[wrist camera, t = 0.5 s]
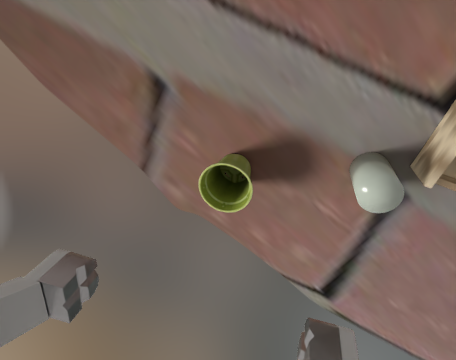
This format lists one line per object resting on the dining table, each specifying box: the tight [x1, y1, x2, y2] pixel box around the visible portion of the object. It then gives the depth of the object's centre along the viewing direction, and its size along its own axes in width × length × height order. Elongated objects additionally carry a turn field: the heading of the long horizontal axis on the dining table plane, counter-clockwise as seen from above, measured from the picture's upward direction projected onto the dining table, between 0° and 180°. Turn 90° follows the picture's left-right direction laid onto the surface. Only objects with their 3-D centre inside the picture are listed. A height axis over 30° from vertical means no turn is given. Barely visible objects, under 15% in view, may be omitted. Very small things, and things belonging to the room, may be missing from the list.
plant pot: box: [199, 154, 253, 212], centre depth 54 cm, size 9×9×9 cm
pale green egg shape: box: [349, 152, 404, 213], centre depth 48 cm, size 6×6×9 cm
